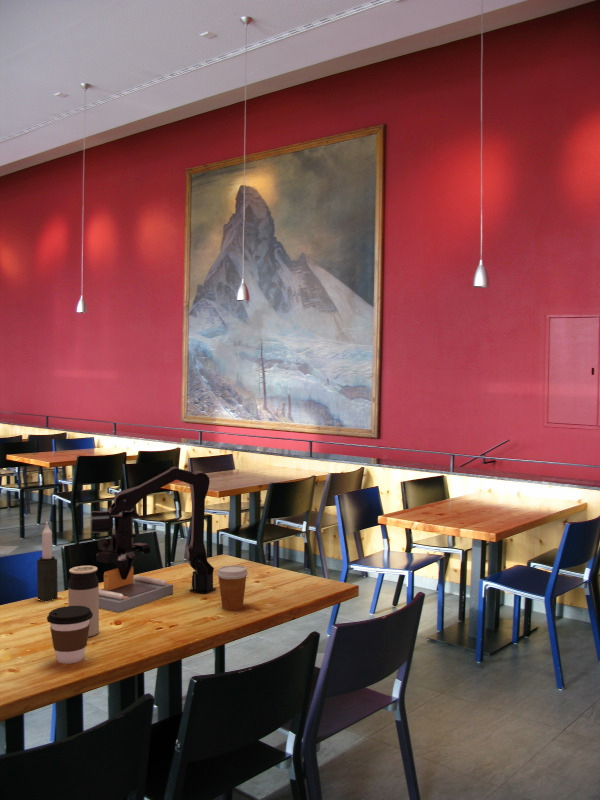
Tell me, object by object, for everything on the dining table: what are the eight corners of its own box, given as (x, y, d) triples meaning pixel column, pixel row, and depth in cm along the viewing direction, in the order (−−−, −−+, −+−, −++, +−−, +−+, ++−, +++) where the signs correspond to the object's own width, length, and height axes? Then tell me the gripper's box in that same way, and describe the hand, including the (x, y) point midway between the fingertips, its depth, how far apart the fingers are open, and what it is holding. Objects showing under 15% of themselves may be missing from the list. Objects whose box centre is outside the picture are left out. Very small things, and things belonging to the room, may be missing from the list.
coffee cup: (55, 670, 177) (54, 620, 177) (41, 657, 186) (41, 610, 185) (99, 660, 183) (99, 612, 183) (84, 648, 192) (83, 602, 192)
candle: (45, 602, 233) (44, 523, 233) (35, 599, 236) (35, 521, 236) (59, 598, 237) (58, 521, 237) (49, 596, 241) (49, 519, 240)
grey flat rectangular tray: (173, 593, 243) (173, 579, 243) (119, 612, 223) (119, 596, 223) (137, 586, 252) (137, 572, 251) (82, 604, 231) (82, 589, 231)
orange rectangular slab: (133, 582, 244) (133, 564, 243) (108, 590, 234) (108, 572, 234) (129, 581, 245) (128, 564, 245) (103, 589, 235) (103, 571, 235)
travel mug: (104, 633, 203) (103, 568, 203) (77, 640, 198) (76, 573, 198) (89, 627, 209) (89, 563, 209) (63, 633, 204) (63, 568, 203)
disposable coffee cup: (210, 609, 226) (210, 570, 225) (228, 601, 234) (227, 563, 234) (237, 613, 221) (237, 573, 221) (253, 605, 230) (253, 567, 229)
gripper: (126, 524, 250) (127, 570, 250) (83, 533, 234) (84, 582, 234) (151, 527, 244) (151, 574, 244) (108, 536, 228) (109, 587, 229)
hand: (124, 579), depth 238 cm, fingers closed, pressing on orange rectangular slab
